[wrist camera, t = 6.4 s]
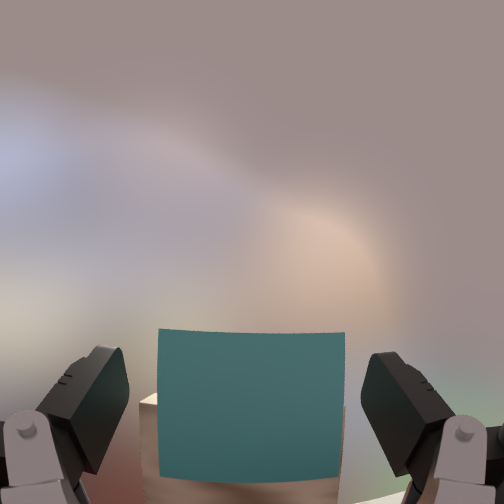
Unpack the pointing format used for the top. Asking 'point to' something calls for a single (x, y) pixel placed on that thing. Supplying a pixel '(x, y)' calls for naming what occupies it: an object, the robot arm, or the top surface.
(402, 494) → the white tall block
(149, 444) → the stand
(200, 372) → the teal long bar
